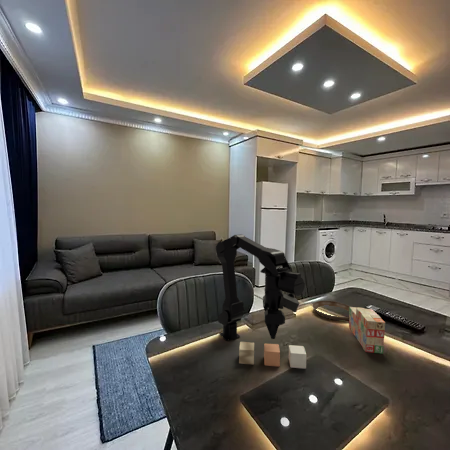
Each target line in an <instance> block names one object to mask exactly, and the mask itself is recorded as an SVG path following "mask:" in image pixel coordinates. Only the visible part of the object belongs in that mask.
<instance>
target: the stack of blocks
mask: <svg viewBox="0 0 450 450" xmlns="http://www.w3.org/2000/svg"><path fill="white" fill-rule="evenodd" d="M348 327H349V328H350V330H351V332H352V333H353V335H354V337H355V338H356V339H357V341H358V342H359V345H361V347H362V349H363V351H364V352H365V353H372V354H373V353H374V354H384V344H385V343H384V341H385V335H386V334H385V333H386V331H385V327H386V321H384V320H383V319H382V317H381V316H380V315H379V314H377V312H375V310H373V309H372V308H364V307H359V306H358V307H353V306H351V307H349V320H348Z"/></svg>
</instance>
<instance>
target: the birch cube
mask: <svg viewBox="0 0 450 450" xmlns="http://www.w3.org/2000/svg"><path fill="white" fill-rule="evenodd" d="M238 349H239V350H238V354H239V355H238V358H239V359H238V364H244V365H253V366H254V364H255V342H249V341H248V342H246V341H240V342H239V348H238Z"/></svg>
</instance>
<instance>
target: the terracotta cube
mask: <svg viewBox="0 0 450 450" xmlns="http://www.w3.org/2000/svg"><path fill="white" fill-rule="evenodd" d="M263 345H264V346H263V361H264V362H263V363H264V366H270V367H280V365H281V351H280V350H281V349H280V345H279V344H278V343H264V344H263Z"/></svg>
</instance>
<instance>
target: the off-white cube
mask: <svg viewBox="0 0 450 450" xmlns="http://www.w3.org/2000/svg"><path fill="white" fill-rule="evenodd" d="M288 362H289V366H290V368H296V369H307V353H306V349H305V347H304V346H303V345H289V344H288Z"/></svg>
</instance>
